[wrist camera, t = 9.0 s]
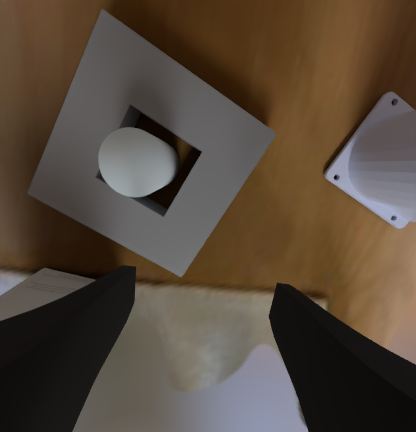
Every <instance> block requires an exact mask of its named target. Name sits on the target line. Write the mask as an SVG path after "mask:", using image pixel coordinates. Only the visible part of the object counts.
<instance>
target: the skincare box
mask: <svg viewBox="0 0 416 432" xmlns="http://www.w3.org/2000/svg"><path fill="white" fill-rule="evenodd" d="M94 281H96V280H94V279H90V278H86V277H82V276H78V275H73V274H69V273H64V272H60V271H56V270H52V269H48V268H43V269H41V270H40V271H38V272H37V273H35V274H33V275H32V276H30V277H29V278H27V279H26V280H24V281H23V282H21V283H20V284H18V285H16V286H15V287H13V288H12V289H10V290H9V291H7V292H6V293H4V294H3V295H1V296H0V321H1V320H4V319H7V318H10V317H13V316H16V315H19V314H21V313H24V312H27V311H30V310H33V309H35V308H38V307H40V306H43V305H45V304H48V303H50V302H52V301H55V300H57V299H59V298H61V297H64V296H66V295H68V294H70V293H72V292H74V291H76V290H78V289H80V288H82V287H84V286H86V285H88V284H90V283H92V282H94Z"/></svg>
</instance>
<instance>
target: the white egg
mask: <svg viewBox="0 0 416 432" xmlns="http://www.w3.org/2000/svg"><path fill="white" fill-rule="evenodd" d="M98 162H99V168H100V171H101V174H102V176H103V178H104V180H105V181H106V182H107V184H108V185H109V186H110V187H111V188H112V189H114V190H115V191H116V192H118V193H120V194H122V195H125V196H128V197H143V196H146V195H149V194H151V193H152V192H154V191H156V190H158V189H160V188H162V187H164V186H166V185H168V184H169V183H171V182H172V181H173V180H174V179H175V178H176V176H177V174H178V171H179V158H178V155H177V153H176V151H175V150H174V149H173V148H172V147H171V146H170V145H169V144H168V143H166V142H164V141H162V140H160V139H159V138H157V137H155V136H153V135H151V134H149V133H147V132H145V131H143V130H141V129H138V128H132V127H126V128H121V129H118V130H115V131H114V132H112V133H111V134H109V135H108V136H107V137H106V138H105V140H104V141H103V143H102V145H101V147H100V150H99V155H98Z"/></svg>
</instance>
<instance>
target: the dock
mask: <svg viewBox="0 0 416 432" xmlns="http://www.w3.org/2000/svg"><path fill="white" fill-rule="evenodd" d="M141 113H142V114H143V115H145V116H146V117H148V118H150V119H151V120H153V121H154V122H156V123H157V124H159V125H160V126H162V127H163V128H165V129H166V130H168V131H169V132H171V133H172V134H174V135H176V136H177V137H179V138H180V139H182V140H183V141H185V142H186V143H188V144H189V145H191V146H192V147H194V148H195V149H197V150H198V151H200V152H202V153H201V155H200V156H199V158H198V160H197V162H196V163H195V165H194V167H193V168H192V170H191V172H190V173H189V175H188V177H187V178H186V180H185V182H184V184H183V185H182V187H181V189H180V190H179V192H178V194H177V195H176V197H175V199H174V200H173V202H172V204H171V206H170V207H169V209H166V208H164V207H163V206H161V205H159V204H158V203H156V202H154V201H153V200H151V199H149V198H148V197H146V196H143V197H128V196H125V195H122V194H120V193H118V192H116V191H115V190H114V189H112V188H111V187H110V186H109V185H108V184H107V182H106V181H105V180H104V178H103V176H102V174H101V171H100V168H99V162H98V155H99V150H100V147H101V145H102V143H103V141H104V140H105V138H106V137H107V136H108V135H109V134H111V133H112V132H114V131H115V130H118V129H121V128H126V127H132V128H134V127H135V125H136V123H137V121H138V119H139V117H140V115H141ZM276 134H277V133H275V132H274V131H273V130H271V129H270V128H268V127H267V126H266V125H264V124H263V123H261V122H260V121H259V120H257V119H256V118H254V117H253V116H252V115H250V114H249V113H247V112H246V111H245V110H243V109H242V108H240V107H239V106H238V105H236V104H235V103H233V102H232V101H231V100H229V99H228V98H226V97H225V96H224V95H222V94H221V93H219V92H218V91H217V90H215V89H214V88H213V87H211V86H210V85H208V84H207V83H206V82H204V81H203V80H201V79H200V78H199V77H197V76H196V75H194V74H193V73H192V72H190V71H189V70H187V69H186V68H185V67H183V66H182V65H180V64H179V63H178V62H176V61H175V60H173V59H172V58H171V57H169V56H168V55H166V54H165V53H164V52H162V51H161V50H159V49H158V48H157V47H155V46H154V45H152V44H151V43H150V42H148V41H147V40H145V39H144V38H143V37H141V36H140V35H138V34H137V33H136V32H134V31H133V30H131V29H130V28H129V27H127V26H126V25H124V24H123V23H122V22H120V21H119V20H117V19H116V18H115V17H113V16H112V15H110V14H109V13H108V12H106V11H105V10H103V9H102V10H101V12H100V15H99V17H98V20H97V22H96V24H95V27H94V29H93V32H92V34H91V37H90V39H89V42H88V44H87V47H86V49H85V52H84V54H83V57H82V59H81V61H80V64H79V66H78V69H77V71H76V74H75V76H74V79H73V81H72V84H71V86H70V89H69V91H68V94H67V96H66V98H65V101H64V103H63V106H62V108H61V111H60V113H59V116H58V118H57V121H56V123H55V126H54V128H53V131H52V133H51V135H50V138H49V140H48V143H47V145H46V148H45V150H44V153H43V155H42V158H41V160H40V163H39V165H38V168H37V170H36V172H35V175H34V177H33V180H32V182H31V185H30V187H29V190H28V192H27V194H28V195H30V196H32V197H34V198H36V199H37V200H39V201H41V202H43V203H45V204H47V205H49V206H50V207H52V208H54V209H56V210H58V211H60V212H61V213H63V214H65V215H67V216H69V217H71V218H73V219H74V220H76V221H78V222H80V223H82V224H84V225H86V226H87V227H89V228H91V229H93V230H95V231H97V232H98V233H100V234H102V235H104V236H106V237H108V238H110V239H111V240H113V241H115V242H117V243H119V244H121V245H123V246H124V247H126V248H128V249H130V250H132V251H134V252H135V253H137V254H139V255H141V256H143V257H145V258H147V259H148V260H150V261H152V262H154V263H156V264H158V265H160V266H161V267H163V268H165V269H167V270H169V271H171V272H172V273H174V274H176V275H178V276H180V277H182V276H183V274H184V273H185V271H186V270H187V268H188V267H189V265H190V264H191V262H192V261H193V259H194V258H195V256H196V255H197V253H198V252H199V250H200V249H201V247H202V246H203V244H204V243H205V241H206V240H207V238H208V237H209V235H210V234H211V232H212V231H213V229H214V228H215V226H216V225H217V223H218V222H219V220H220V219H221V217H222V216H223V214H224V213H225V211H226V210H227V208H228V207H229V205H230V204H231V202H232V201H233V199H234V198H235V196H236V195H237V193H238V192H239V190H240V189H241V187H242V186H243V184H244V183H245V181H246V180H247V178H248V177H249V175H250V174H251V172H252V171H253V169H254V168H255V166H256V164H257V163H258V161H259V160H260V158H261V157H262V155H263V154H264V152H265V151H266V149H267V148H268V146H269V145H270V143H271V142H272V140H273V139H274V137H275V136H276Z"/></svg>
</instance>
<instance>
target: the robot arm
mask: <svg viewBox="0 0 416 432" xmlns="http://www.w3.org/2000/svg"><path fill="white" fill-rule="evenodd" d="M392 100H393V102H394V104H393V105H392ZM335 175H337V178H336V179H335V180H334V176H335ZM324 176H325V178H326V179H327V180H329V181H330V182H331V183H333V184H334V185H336V186H337V187H339V188H340V189H341V190H343V191H344V192H346V193H347V194H348V195H350V196H351V197H353V198H354V199H356V200H357V201H358V202H360V203H361V204H363V205H364V206H365V207H367V208H368V209H370V210H371V211H373V212H374V213H375V214H377V215H378V216H380V217H381V218H382V219H384V220H385V221H387V222H388V223H390V224H391V225H392V226H394V227H396V228H399V229H400V228H403V227H405V226H406V225H407V223H408V222H409V221H411V222H415V223H416V110H414V109H413V108H412V107H411V106H410V105H408V104H407V103H406V102H405V101H404V100H402V99H401V98H400V97H399V96H398V95H396V94H395V93H394V92H388V93H386V94H384V95H383V96H382V97H381V98H380V100H379V101H378V102H377V104H376V105H375V106H374V108H373V109H372V110H371V112H370V113H369V114H368V115H367V117H366V118H365V119H364V121H363V122H362V123H361V125H360V126H359V127H358V129H357V130H356V131H355V133H354V134H353V135H352V137H351V138H350V139H349V141H348V142H347V143H346V145H345V146H344V147H343V149H342V150H341V151H340V153H339V154H338V155H337V157H336V158H335V159H334V161H333V162H332V163H331V165H330V166H329V167H328V169H327V170H326V171H325V174H324ZM392 216H393V218H392V219H391V217H392ZM135 279H136V267H133V266H125V265H124V266H121V267H119V268H117V269H116V270H114V271H112V272H110V273H108V274H107V275H105V276H103V277H101V278H99V279H97V280H96V281H94V282H92V283H90V284H88V285H86V286H84V287H82V288H80V289H78V290H76V291H74V292H72V293H70V294H68V295H66V296H64V297H61V298H59V299H57V300H55V301H52V302H50V303H48V304H45V305H43V306H40V307H38V308H35V309H33V310H30V311H27V312H24V313H21V314H19V315H16V316H13V317H10V318H7V319H4V320H1V321H0V432H72V431H73V429H74V426H75V424H76V422H77V419H78V417H79V415H80V412H81V410H82V408H83V406H84V403H85V401H86V399H87V397H88V394H89V392H90V390H91V387H92V385H93V383H94V381H95V379H96V377H97V375H98V373H99V371H100V369H101V367H102V366H103V364H104V362H105V360H106V358H107V357H108V355H109V353H110V351H111V349H112V347H113V346H114V344H115V342H116V340H117V338H118V337H119V335H120V333H121V331H122V329H123V327H124V325H125V324H126V322H127V319H128V317H129V314H130V312H131V309H132V307H133V304H134V300H135ZM269 319H270V324H271V328H272V331H273V335H274V338H275V341H276V343H277V346H278V348H279V351H280V353H281V356H282V358H283V361H284V363H285V366H286V368H287V371H288V373H289V376H290V378H291V381H292V383H293V386H294V388H295V391H296V394H297V397H298V399H299V402H300V406H301V409H302V412H303V415H304V418H305V422H306V425H307V428H308V432H416V365H415V364H413V363H411V362H410V361H408V360H406V359H404V358H402V357H400V356H398V355H396V354H394V353H393V352H391V351H389V350H387V349H385V348H384V347H382V346H380V345H378V344H377V343H375V342H373V341H372V340H370V339H368V338H367V337H365V336H363V335H362V334H360V333H358V332H357V331H355V330H354V329H352V328H351V327H349V326H348V325H346V324H345V323H343V322H342V321H340V320H339V319H337V318H336V317H334V316H333V315H331V314H330V313H329V312H327V311H326V310H324V309H323V308H322V307H320V306H319V305H318V304H316V303H315V302H313V301H312V300H311V299H309V298H308V297H307V296H305V295H304V294H303V293H301V292H300V291H298V290H297V289H295V288H294V287H292V286H291V285H289V284H282V283H277V285H276V289H275V293H274V297H273V301H272V305H271V309H270V313H269Z"/></svg>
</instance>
